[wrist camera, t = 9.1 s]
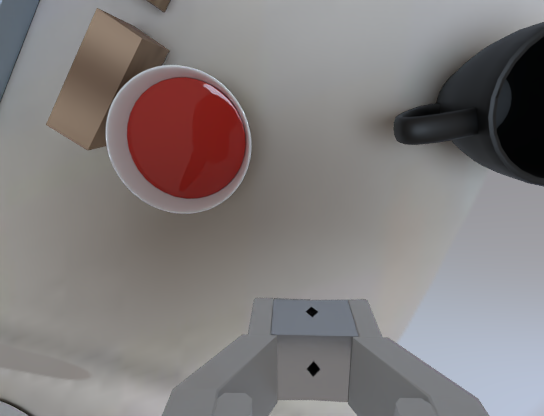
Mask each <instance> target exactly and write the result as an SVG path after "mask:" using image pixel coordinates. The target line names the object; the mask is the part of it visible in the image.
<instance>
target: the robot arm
mask: <svg viewBox="0 0 544 416" xmlns="http://www.w3.org/2000/svg"><path fill="white" fill-rule="evenodd" d="M312 399H313V400H320V401H337V402H348V404H349V406H350V407H351V408H352V409H353V411H354V412H355V413H356V414H357V416H489V415H488V413H487V412H486V410H485V408H484V407H483V405H482V404H481V402H480V401H479V399H478V398H476V397H475V396H473V395H472V394H471V393H469V392H468V391H466V390H465V389H463V388H462V387H460V386H459V385H457V384H456V383H454V382H453V381H451V380H450V379H448V378H447V377H445V376H444V375H442V374H441V373H440V372H438V371H436V370H435V369H434V368H432V367H431V366H429V365H428V364H426V363H425V362H423V361H422V360H420V359H419V358H418V357H416V356H415V355H413V354H412V353H410V352H409V351H407V350H406V349H404V348H403V347H401V346H400V345H398V344H397V343H396V342H394V341H393V340H391V339H390V338H385V337H382V335H381V332H380V330H379V327H378V325H377V322H376V320H375V317H374V315H373V313H372V310H371V308H370V305H369V303H368V301H367V300H366V299H355V300H310V299H283V298H274V299H273V298H255V299H254V302H253V308H252V313H251V319H250V325H249V330H248V335H245V334H243V335H241V336H240V337H238V338H237V339H236V340H235V341H233V342H232V343H231V344H230V345H228V346H227V347H226V348H225V349H223V350H222V351H221V352H219V353H218V354H217V355H216V356H214V357H213V358H212V359H211V360H209V361H208V362H207V363H205V364H204V365H203V366H202V367H200V368H199V369H198V370H197V371H195V372H194V373H193V374H192V375H190V376H189V377H188V378H186V379H185V380H184V381H183V382H181V383H180V384H179V385H178V386H176V387H175V388H174V389H173V390H172V392H171V395H170V397H169V400H168V402H167V405H166V407H165V410H164V412H163V414H162V416H268V415H269V414H270V412H271V411H272V409H273V408H274V407H275V405H276V404H277V402H278V400H312ZM0 416H28V415H27V414H25V413H24V412H22V411H20V410H19V409H17V408H15V407H13V406H11V405H9V404H6V403H4V402H1V401H0Z"/></svg>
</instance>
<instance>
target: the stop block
mask: <svg viewBox="0 0 544 416" xmlns="http://www.w3.org/2000/svg"><path fill="white" fill-rule="evenodd" d="M168 52H169V50H168V49H166V48H165V47H164V46H162V45H161V44H159V43H158V42H156V41H155V40H153V39H152V38H150V37H149V36H147V35H146V34H144V33H143V32H142V31H140V30H139V29H137V28H136V27H134V26H132V25H130V24H128V23H126V22H124V21H122V20H120V19H118V18H116V17H114V16H112V15H110V14H108V13H106V12H104V11H102V10H100V9H98V8H97V9H96V11H95V14H94V16H93V18H92V20H91V23H90V25H89V27H88V30H87V32H86V34H85V36H84V39H83V41H82V43H81V46H80V48H79V50H78V52H77V55H76V57H75V59H74V62H73V64H72V66H71V69H70V71H69V73H68V75H67V78H66V80H65V82H64V85H63V87H62V89H61V91H60V94H59V96H58V98H57V101H56V103H55V105H54V107H53V110H52V112H51V114H50V117H49V119H48V121H47V123H46V125H47V126H49V127H50V128H52V129H54V130H55V131H57V132H59V133H60V134H62V135H63V136H65V137H67V138H68V139H70V140H72V141H73V142H75V143H76V144H78V145H80V146H81V147H83V148H84V149H86V150H92V149H96V148H100V147H104V146H107V145H106V121H107V116H108V112H109V109H110V107H111V104H112V102H113V100H114V98H115V97H116V95H117V93H118V92H119V91H120V89H121V88H122V87H123V86H124V85H125V84H126V83H127V82H128V81H129V80H130V79H132V78H133V77H134V76H136V75H137V74H139V73H141V72H143V71H145V70H148V69H150V68H154V67H157V66H162V64H163V62H164V60H165V58H166V56H167V54H168Z"/></svg>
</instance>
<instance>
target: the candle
mask: <svg viewBox="0 0 544 416" xmlns="http://www.w3.org/2000/svg"><path fill="white" fill-rule="evenodd" d="M106 145H107V150H108V154H109V158H110V160H111V163H112V165H113V168H114V170H115V171H116V173H117V175H118V176H119V178H120V179H121V181H122V182H123V183H124V185H125V186H126V187H127V188H128V189H129V190H130V191H131V192H132V193H133V194H134V195H135V196H137V197H138V198H139V199H140V200H142V201H143V202H145V203H147V204H149V205H150V206H152V207H155V208H157V209H160V210H163V211H166V212H171V213H177V214H192V213H199V212H203V211H206V210H209V209H211V208H214V207H216V206H218V205H219V204H221V203H222V202H224V201H225V200H226V199H228V198H229V197H230V196H231V195H232V194H233V193H234V192H235V191H236V189H237V188H238V187H239V185H240V184H241V182H242V181H243V179H244V177H245V175H246V172H247V170H248V167H249V163H250V158H251V148H252V142H251V133H250V128H249V124H248V121H247V118H246V115H245V113H244V111H243V109H242V107H241V105H240V104H239V102H238V101H237V99H236V98H235V96H234V95H233V94H232V93H231V92H230V91H229V89H228V88H227V87H225V86H224V85H223V84H222V83H221V82H220V81H218V80H217V79H215V78H214V77H212V76H211V75H209V74H207V73H205V72H203V71H201V70H198V69H195V68H192V67H188V66H182V65H163V66H157V67H154V68H150V69H148V70H145V71H143V72H141V73H139V74H137V75H136V76H134V77H133V78H132V79H130V80H129V81H128V82H127V83H126V84H125V85H124V86H123V87H122V88H121V89H120V91H119V92H118V93H117V95H116V97H115V98H114V100H113V102H112V104H111V107H110V109H109V112H108V116H107V121H106Z"/></svg>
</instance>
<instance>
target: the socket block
mask: <svg viewBox="0 0 544 416" xmlns="http://www.w3.org/2000/svg"><path fill="white" fill-rule="evenodd" d="M147 1H148V2H150V3H151V4H153V5H154V6H156V7H157V8H159V9H160V10H161V11H163V12H165V10H166V8H167V6H168V4H169V2H170V0H147Z"/></svg>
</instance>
